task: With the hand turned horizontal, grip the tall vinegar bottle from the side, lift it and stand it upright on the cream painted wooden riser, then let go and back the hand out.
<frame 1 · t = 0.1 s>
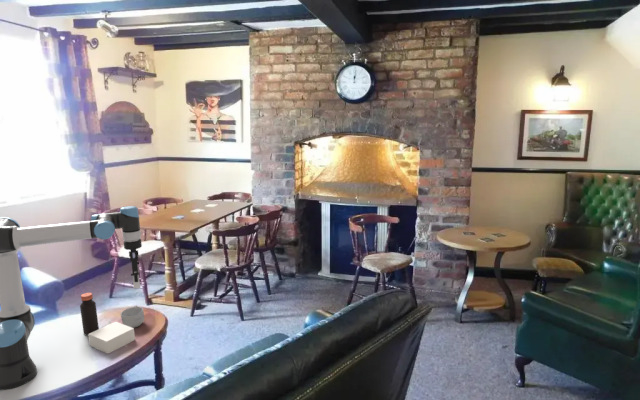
hand: (136, 283, 203), 28 cm above the table, tool pointing down, fingers open, 13 cm apart
teacup: (134, 324, 222), on the table
riser: (112, 342, 204), on the table
vinegar: (91, 332, 215), on the table
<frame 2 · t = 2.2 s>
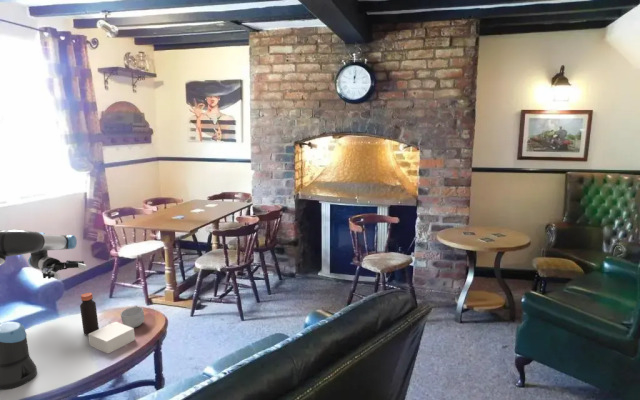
hand: (72, 272, 213), 30 cm above the table, tool horizontal, fingers open, 13 cm apart
nothing on the table moved.
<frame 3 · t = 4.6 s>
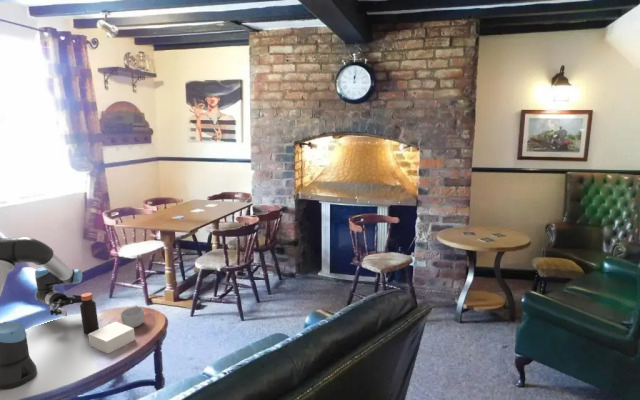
hand: (79, 308, 217), 11 cm above the table, tool horizontal, fingers open, 13 cm apart
nothing on the table moved.
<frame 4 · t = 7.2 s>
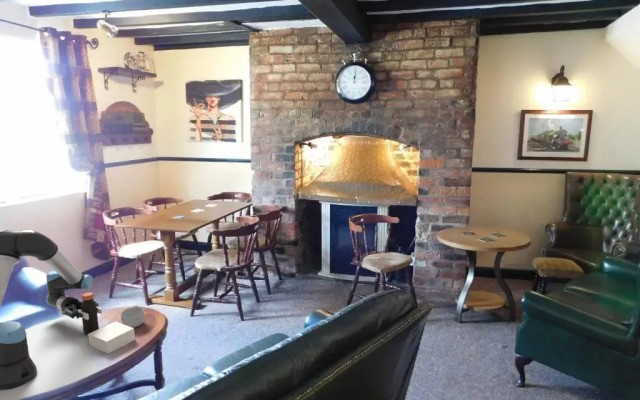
hand: (94, 313, 210), 11 cm above the table, tool horizontal, fingers closed on vinegar, 6 cm apart
vinegar: (91, 332, 214), on the table, touching gripper
everything else where it was.
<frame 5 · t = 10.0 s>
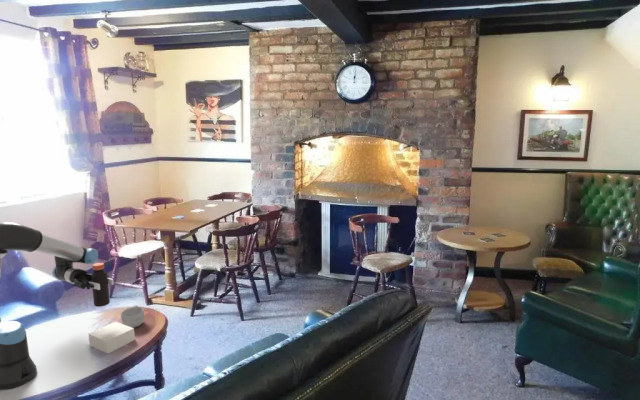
hand: (106, 284, 202), 28 cm above the table, tool horizontal, fingers closed on vinegar, 6 cm apart
vinegar: (102, 304, 207), point 17 cm above the table, touching gripper
everything else where it was.
when the fingers open (18 cm above the table, at t = 12.7 s): vinegar drops 1 cm, resting on riser.
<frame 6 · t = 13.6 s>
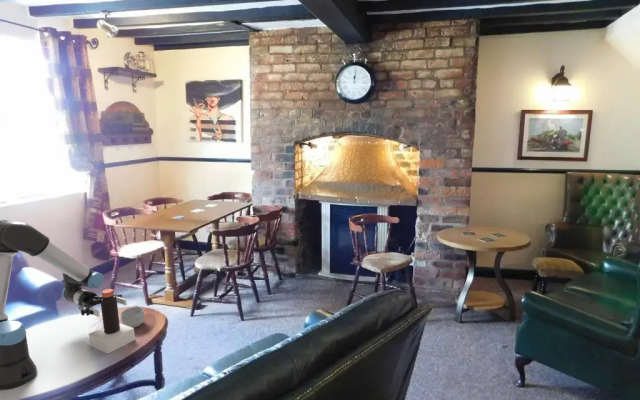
hand: (112, 307, 199), 18 cm above the table, tool horizontal, fingers open, 13 cm apart
vinegar: (112, 331, 203), point 6 cm above the table, touching riser
everything else where it was.
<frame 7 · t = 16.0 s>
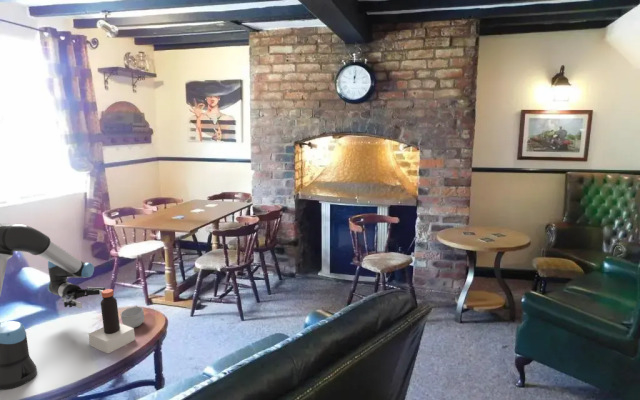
hand: (94, 300, 205), 19 cm above the table, tool horizontal, fingers open, 13 cm apart
nothing on the table moved.
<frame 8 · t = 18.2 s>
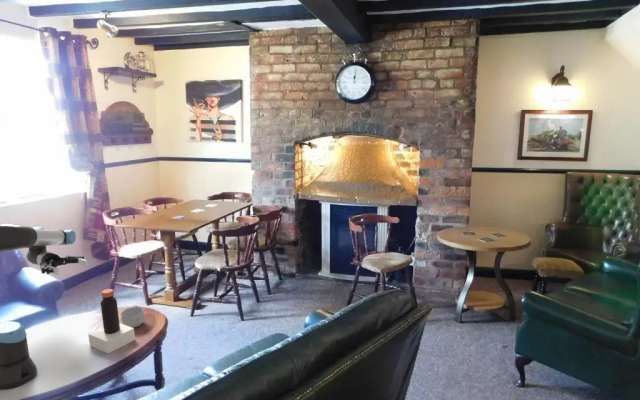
hand: (72, 267, 205), 35 cm above the table, tool horizontal, fingers open, 13 cm apart
nothing on the table moved.
at the end: vinegar inside the target area on the riser (0.4 cm from its centre), point 5.8 cm above the riser's base; vinegar tilted 0°; the gripper is holding nothing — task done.
